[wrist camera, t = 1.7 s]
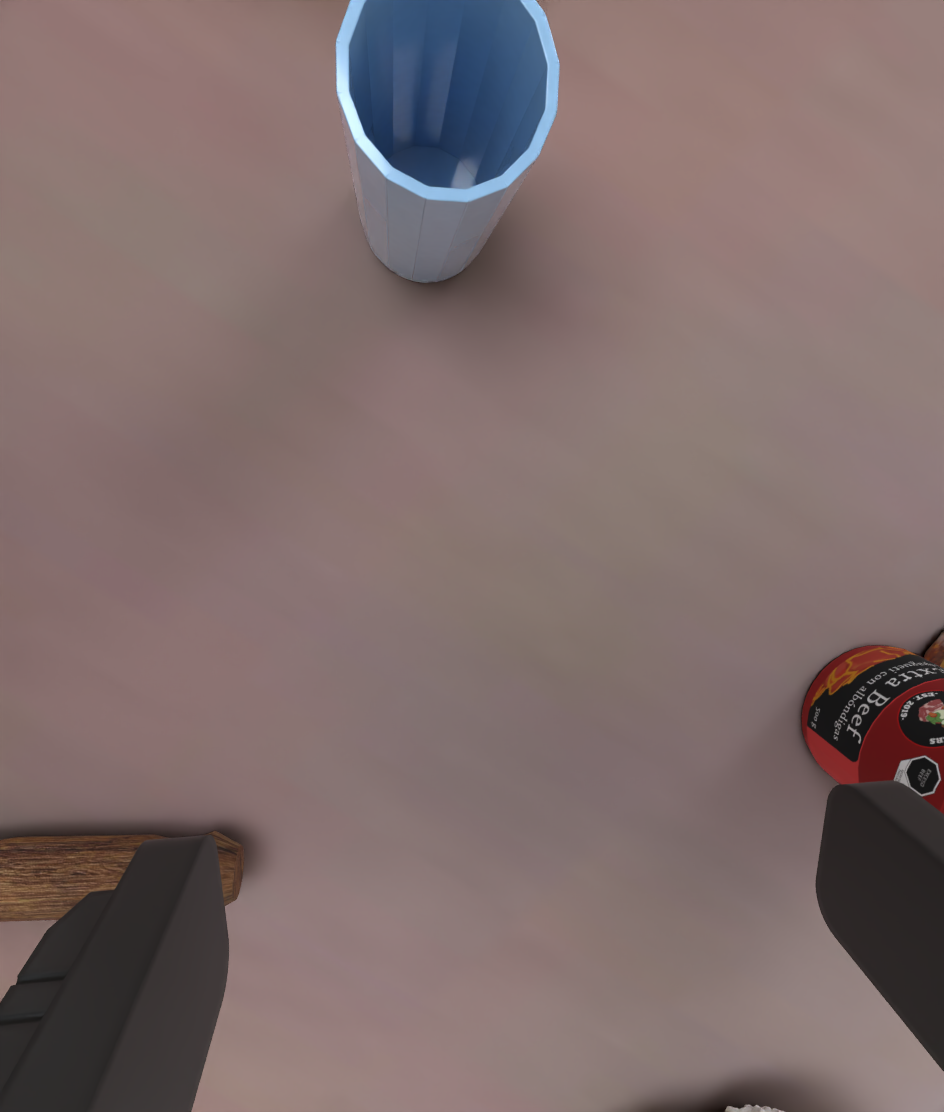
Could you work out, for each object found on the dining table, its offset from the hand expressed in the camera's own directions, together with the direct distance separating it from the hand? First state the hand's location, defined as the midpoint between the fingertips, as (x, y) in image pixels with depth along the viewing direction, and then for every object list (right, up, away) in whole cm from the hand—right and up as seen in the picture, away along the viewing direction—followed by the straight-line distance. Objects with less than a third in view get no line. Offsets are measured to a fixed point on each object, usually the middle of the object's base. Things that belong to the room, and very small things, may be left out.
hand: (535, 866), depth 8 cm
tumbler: (-3, +18, +18) cm, 26 cm away
